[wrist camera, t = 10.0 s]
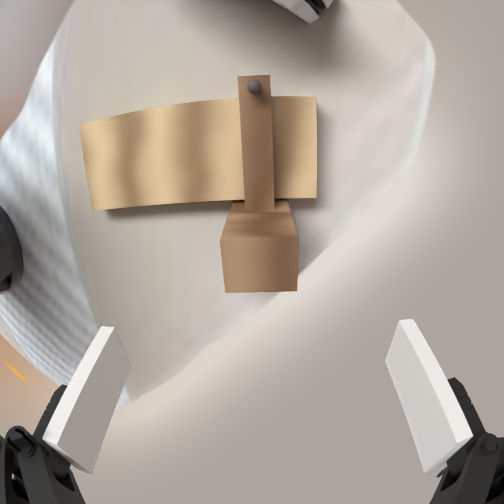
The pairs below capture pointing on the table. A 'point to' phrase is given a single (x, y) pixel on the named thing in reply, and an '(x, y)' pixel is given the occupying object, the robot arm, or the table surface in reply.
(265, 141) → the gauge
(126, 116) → the board
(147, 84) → the table surface
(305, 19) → the grey curved slab
